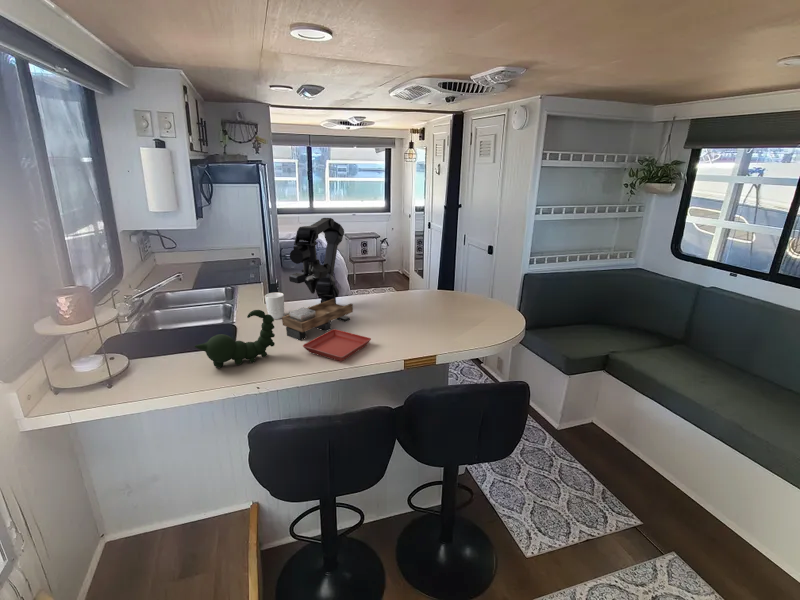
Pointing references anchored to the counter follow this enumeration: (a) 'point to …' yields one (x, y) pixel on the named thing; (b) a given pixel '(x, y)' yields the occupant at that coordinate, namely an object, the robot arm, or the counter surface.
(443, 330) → the counter surface
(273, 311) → the white cup
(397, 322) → the counter surface
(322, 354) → the plant saucer
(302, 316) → the steel block
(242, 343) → the toy figurine
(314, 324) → the wooden tray
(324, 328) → the stand
